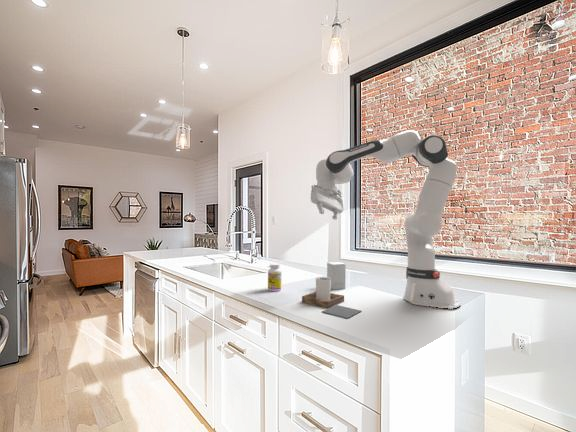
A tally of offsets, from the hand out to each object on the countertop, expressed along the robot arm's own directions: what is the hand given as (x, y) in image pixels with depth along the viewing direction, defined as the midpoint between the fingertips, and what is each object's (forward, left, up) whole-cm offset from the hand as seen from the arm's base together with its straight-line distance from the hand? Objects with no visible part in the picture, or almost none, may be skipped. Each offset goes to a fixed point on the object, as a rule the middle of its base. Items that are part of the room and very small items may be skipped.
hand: (328, 216), depth 140 cm
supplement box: (+5, -16, -37) cm, 41 cm away
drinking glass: (-4, +10, -37) cm, 38 cm away
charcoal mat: (-17, +17, -37) cm, 44 cm away
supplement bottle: (+25, +9, -37) cm, 45 cm away
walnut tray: (-4, +10, -37) cm, 38 cm away
